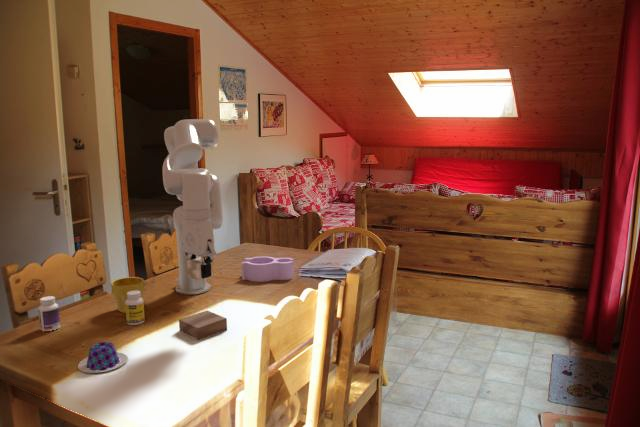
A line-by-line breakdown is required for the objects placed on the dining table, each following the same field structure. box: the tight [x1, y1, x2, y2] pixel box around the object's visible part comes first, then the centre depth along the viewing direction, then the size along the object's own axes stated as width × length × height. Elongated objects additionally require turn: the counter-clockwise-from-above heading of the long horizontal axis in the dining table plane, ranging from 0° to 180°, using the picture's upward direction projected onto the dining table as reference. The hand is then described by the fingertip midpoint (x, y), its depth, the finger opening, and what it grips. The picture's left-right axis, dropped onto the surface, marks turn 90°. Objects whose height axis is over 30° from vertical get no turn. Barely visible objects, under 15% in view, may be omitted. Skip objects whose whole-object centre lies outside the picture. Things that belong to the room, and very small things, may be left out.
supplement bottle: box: [125, 290, 145, 326], centre depth 165 cm, size 5×5×10 cm
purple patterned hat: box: [77, 341, 128, 374], centre depth 137 cm, size 12×12×5 cm
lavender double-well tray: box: [241, 255, 295, 283], centre depth 211 cm, size 20×12×7 cm, turn 88°
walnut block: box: [178, 310, 228, 341], centre depth 158 cm, size 10×10×4 cm
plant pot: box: [110, 276, 145, 314], centre depth 176 cm, size 10×10×10 cm
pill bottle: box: [37, 295, 61, 332], centre depth 160 cm, size 5×5×10 cm
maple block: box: [187, 257, 214, 280], centre depth 155 cm, size 5×5×5 cm
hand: (200, 274), depth 155 cm, fingers closed on maple block, 5 cm apart
